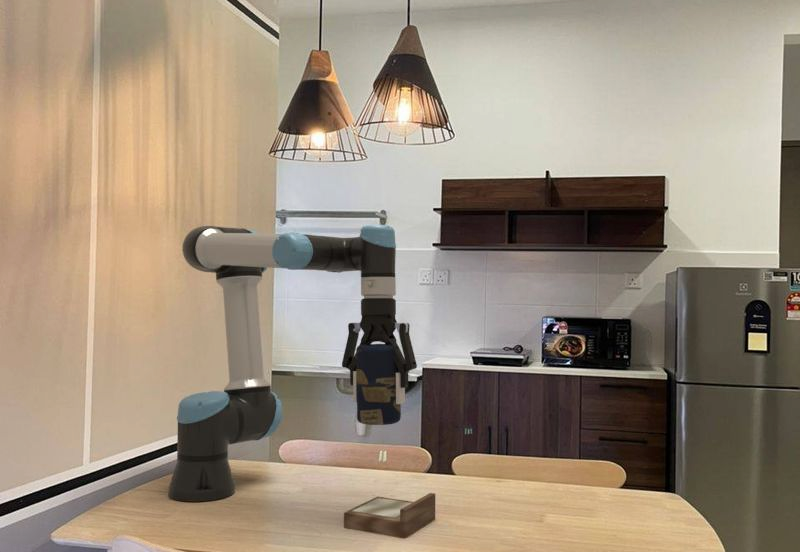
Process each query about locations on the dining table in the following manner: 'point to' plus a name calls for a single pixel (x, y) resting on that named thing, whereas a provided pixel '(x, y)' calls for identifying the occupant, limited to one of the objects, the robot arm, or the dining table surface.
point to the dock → (391, 516)
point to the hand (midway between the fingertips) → (378, 402)
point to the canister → (376, 384)
